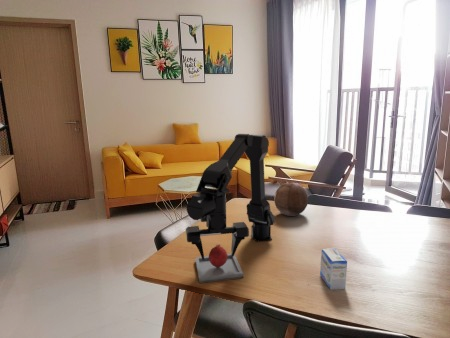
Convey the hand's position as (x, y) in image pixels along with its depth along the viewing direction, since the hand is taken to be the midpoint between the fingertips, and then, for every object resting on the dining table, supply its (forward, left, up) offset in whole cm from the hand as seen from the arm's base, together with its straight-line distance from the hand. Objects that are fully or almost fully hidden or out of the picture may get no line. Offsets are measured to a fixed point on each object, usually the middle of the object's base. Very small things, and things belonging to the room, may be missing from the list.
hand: (217, 257), depth 100 cm
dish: (0, 0, -4) cm, 4 cm away
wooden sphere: (-40, -41, -4) cm, 57 cm away
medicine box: (-31, +14, -4) cm, 34 cm away
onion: (0, 0, -4) cm, 4 cm away
